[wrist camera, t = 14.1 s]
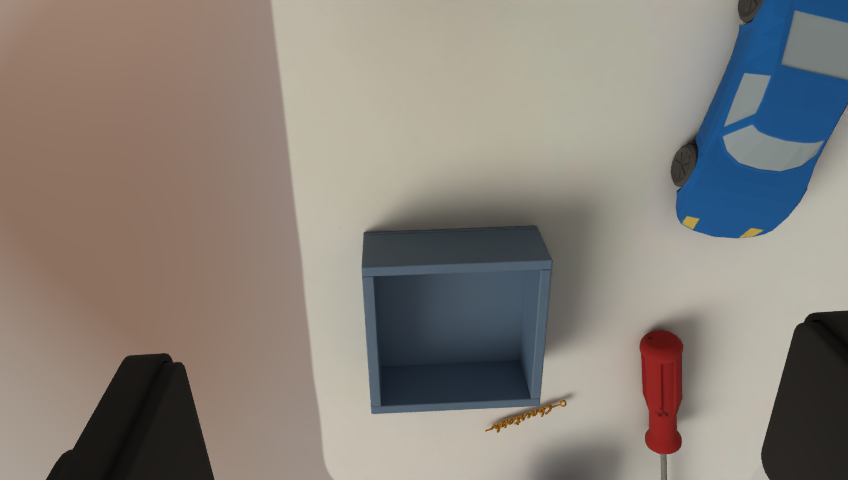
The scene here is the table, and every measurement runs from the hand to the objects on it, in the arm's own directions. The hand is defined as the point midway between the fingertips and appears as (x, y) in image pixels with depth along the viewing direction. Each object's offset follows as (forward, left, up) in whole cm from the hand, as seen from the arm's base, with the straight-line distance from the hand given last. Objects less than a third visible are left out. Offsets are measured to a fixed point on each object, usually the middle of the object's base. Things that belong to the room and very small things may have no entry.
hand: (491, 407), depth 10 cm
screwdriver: (+45, -2, -38) cm, 59 cm away
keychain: (+35, -11, -38) cm, 53 cm away
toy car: (+19, +18, -38) cm, 46 cm away
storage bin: (+21, -10, -38) cm, 44 cm away
